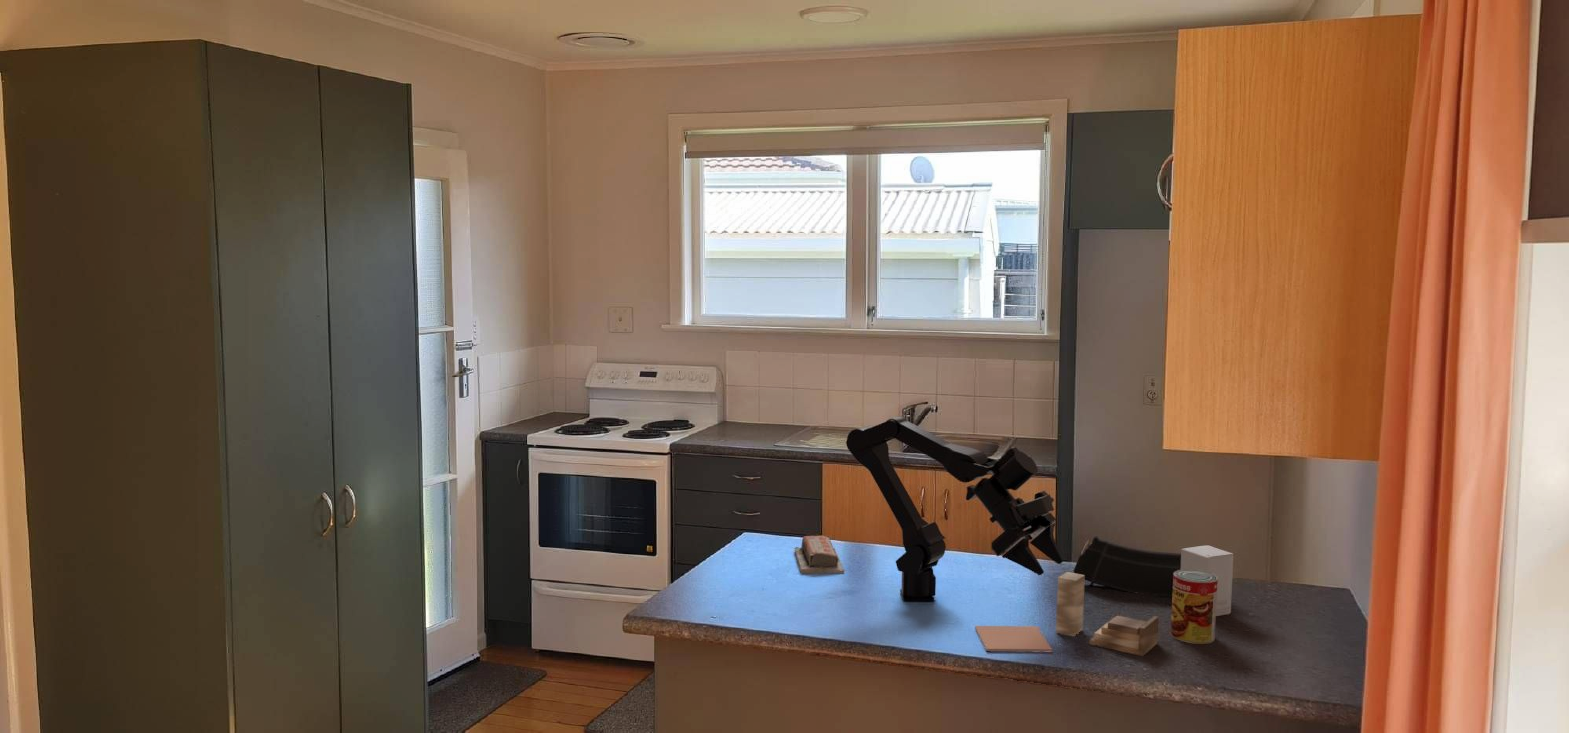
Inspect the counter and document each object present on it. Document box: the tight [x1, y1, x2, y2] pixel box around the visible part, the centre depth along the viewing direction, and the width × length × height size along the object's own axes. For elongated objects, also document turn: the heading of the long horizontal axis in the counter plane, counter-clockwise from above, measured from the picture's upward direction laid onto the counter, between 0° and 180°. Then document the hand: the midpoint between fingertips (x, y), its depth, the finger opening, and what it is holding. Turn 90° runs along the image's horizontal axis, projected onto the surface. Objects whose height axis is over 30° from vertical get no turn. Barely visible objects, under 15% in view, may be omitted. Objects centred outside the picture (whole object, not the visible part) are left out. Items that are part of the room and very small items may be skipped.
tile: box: [974, 625, 1053, 652], centre depth 207 cm, size 12×12×1 cm
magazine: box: [1073, 535, 1181, 598], centre depth 236 cm, size 17×3×30 cm
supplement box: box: [1180, 544, 1234, 617], centre depth 224 cm, size 7×7×13 cm
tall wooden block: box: [1055, 571, 1086, 637], centre depth 211 cm, size 4×4×11 cm
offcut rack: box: [1089, 615, 1159, 657], centre depth 206 cm, size 10×8×5 cm
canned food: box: [1170, 569, 1218, 645], centre depth 209 cm, size 8×8×12 cm
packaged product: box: [794, 535, 845, 575], centre depth 256 cm, size 18×5×10 cm
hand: (1051, 568), depth 213 cm, fingers open, 9 cm apart
